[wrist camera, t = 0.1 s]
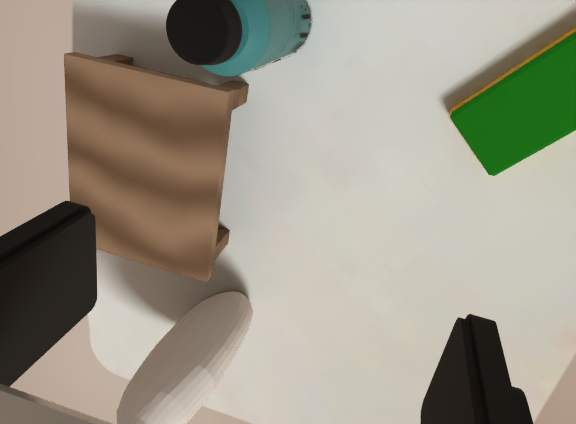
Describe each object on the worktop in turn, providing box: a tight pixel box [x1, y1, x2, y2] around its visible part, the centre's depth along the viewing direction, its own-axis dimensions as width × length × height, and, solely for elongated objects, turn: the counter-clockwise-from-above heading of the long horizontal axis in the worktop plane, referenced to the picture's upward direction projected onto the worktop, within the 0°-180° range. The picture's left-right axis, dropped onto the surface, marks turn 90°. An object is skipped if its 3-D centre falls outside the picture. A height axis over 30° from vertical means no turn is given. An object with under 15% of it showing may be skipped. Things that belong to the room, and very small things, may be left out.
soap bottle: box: [117, 291, 253, 424], centre depth 48 cm, size 14×8×27 cm, turn 127°
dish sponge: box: [449, 27, 576, 176], centre depth 40 cm, size 7×14×2 cm, turn 129°
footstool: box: [64, 52, 249, 282], centre depth 49 cm, size 20×16×8 cm
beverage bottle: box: [166, 0, 312, 76], centre depth 35 cm, size 6×7×20 cm
